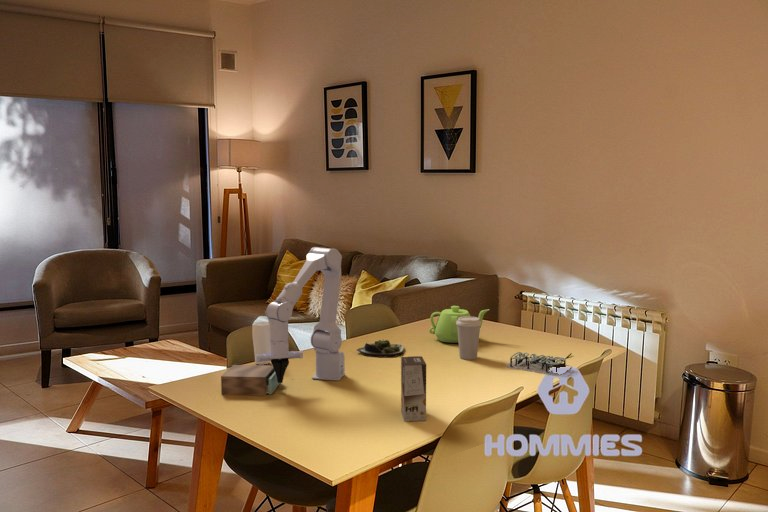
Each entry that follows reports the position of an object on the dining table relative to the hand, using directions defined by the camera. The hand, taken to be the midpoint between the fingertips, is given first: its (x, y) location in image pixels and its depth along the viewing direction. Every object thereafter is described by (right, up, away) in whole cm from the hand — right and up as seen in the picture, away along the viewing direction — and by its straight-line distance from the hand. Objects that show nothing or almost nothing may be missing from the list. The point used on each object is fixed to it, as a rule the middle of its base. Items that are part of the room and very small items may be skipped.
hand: (280, 382), depth 208 cm
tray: (-8, -2, +3) cm, 9 cm away
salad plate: (+32, +2, +49) cm, 59 cm away
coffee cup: (+65, +1, +40) cm, 76 cm away
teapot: (+64, +4, +68) cm, 94 cm away
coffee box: (+41, -6, -22) cm, 47 cm away
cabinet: (-10, -3, +3) cm, 11 cm away
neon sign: (+92, 0, +34) cm, 98 cm away
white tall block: (-11, 0, +32) cm, 34 cm away
